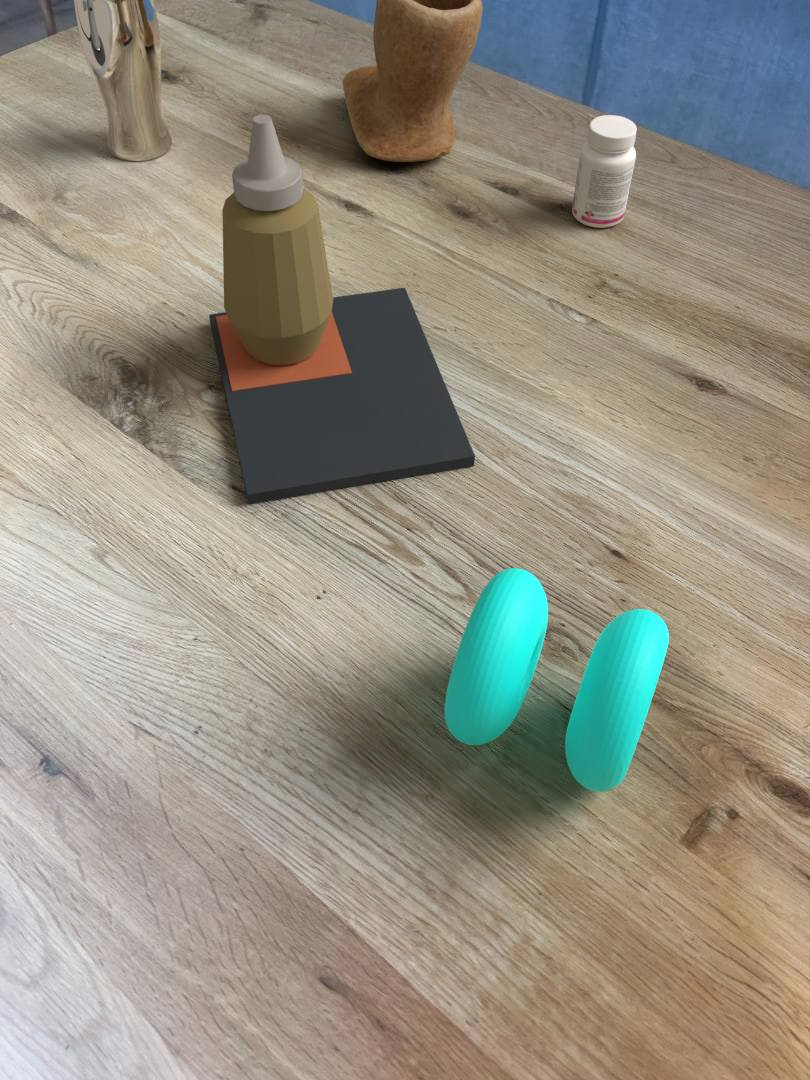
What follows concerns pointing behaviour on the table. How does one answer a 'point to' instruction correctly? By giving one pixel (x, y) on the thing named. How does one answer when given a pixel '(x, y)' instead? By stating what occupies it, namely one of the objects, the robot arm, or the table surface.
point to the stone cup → (412, 78)
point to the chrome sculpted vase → (126, 73)
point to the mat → (342, 404)
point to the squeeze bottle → (274, 255)
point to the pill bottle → (605, 172)
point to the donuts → (509, 664)
